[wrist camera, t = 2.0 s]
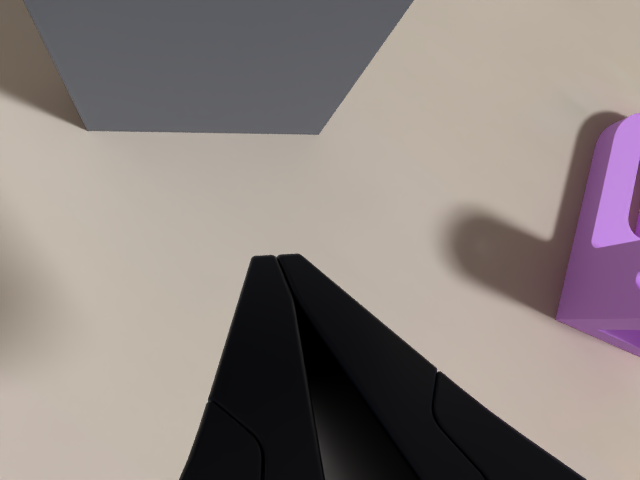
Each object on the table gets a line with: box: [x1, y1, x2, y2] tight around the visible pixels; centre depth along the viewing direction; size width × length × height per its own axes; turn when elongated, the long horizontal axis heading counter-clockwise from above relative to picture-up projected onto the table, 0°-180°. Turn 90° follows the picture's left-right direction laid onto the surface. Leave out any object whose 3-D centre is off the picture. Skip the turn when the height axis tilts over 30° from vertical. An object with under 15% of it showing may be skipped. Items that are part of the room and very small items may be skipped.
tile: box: [23, 0, 414, 135], centre depth 15 cm, size 2×10×14 cm, turn 95°
